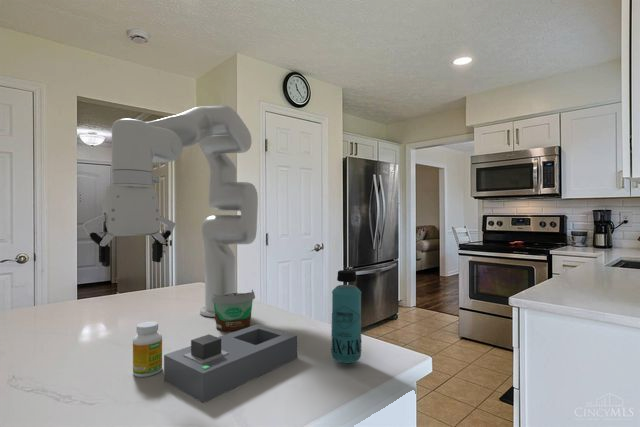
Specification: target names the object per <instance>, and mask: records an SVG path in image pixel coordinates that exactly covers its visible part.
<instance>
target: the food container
mask: <svg viewBox="0 0 640 427" xmlns="http://www.w3.org/2000/svg"><path fill="white" fill-rule="evenodd" d="M255 298H256V296H255V291H254V289H252V290H251V292H243V293H241V292H240V293H239V292H235V293H232V294H228V295H223V296H221V295H215V294H213V296H212V298H211V301H212V302H214V310H215V317H214V318H215V326H216V330H217V331H219V332H224V333H232V332H235V331H238V330H241V329H245V328H248V327H251V321H252V320H251V319H252V309H253V301H254V300H255Z"/></svg>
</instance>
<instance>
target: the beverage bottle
mask: <svg viewBox="0 0 640 427" xmlns="http://www.w3.org/2000/svg"><path fill="white" fill-rule="evenodd" d="M357 279H358V278H357V272H356V271H355V270H351V269H343V270H338V271H337V278H336V281H338V282H340V283H341V282H342V283H352V282H353V283H354V282H356V281H357ZM331 295H332V297H331V298H332V299H331V301H332V305H331V306H332V308H331V311H332V313H331V329H330V330H331V346H330V353H331V355H332V356H331V357H332V359H333V360H335V361H336V362H339V363H346V364H347V363H350V364H351V363H355V362H357V361H359V360H360V359H361V356H362V339H363V338H362V327H363V325H362V291H361V290H360V288H358V286H356V285H354V284H353V285H352V284H340V285H339V284H338V285H336V287H335V288H334V289H332V291H331Z"/></svg>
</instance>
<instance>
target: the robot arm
mask: <svg viewBox="0 0 640 427" xmlns="http://www.w3.org/2000/svg"><path fill="white" fill-rule="evenodd" d="M252 139H253V138H252V136H251V132H250V130H249V128H248V126H247V124H245V122H244V120H243V119H242V117H241V116H240V114H238V112H237V111H235V109H234V108H232V107H231V106H229V105H225V104H224V105H207V106H206V105H203V106H196V107H193V108H191V109H188V110H186V111H184V112H181V113H179V114H176V115H171V116H167V117H162V118H160V119H155V120H151V121H143V120H140V119H133V118H121V119H117V120H115V121H114V122H113V123H112V126H111V185H110V186H107V187H106V190H105V194H104V198H103V199H104V200H103V207H102V208H103V209H102V215H99V216H97V217H95V218H93V219H91V220H89V221H87V222H84V223H82V228H83V230H84V231H85V233H86V234H87V236H88V238H89V239H90V240H91V241H92V242H94V243H95V244H96V245H97V246H98V262H99V263H100V264H101V266H102V267H105V268H108V267H110V266H111V247H110V246H109V243H110V242H111V241H112V240H113V238H114V237H127V236H128V237H130V236H133V237H134V236H135V237H137V236H149V237H150V238H151V239H152V240H153V241H154V242H152V246H151V252H152V253H151V261H152V262H155V263H161V262H162V258H163V256H164V255H163V254H164V252H163V251H164V250H163V249H164V248H163V247H164V244H165V242H166V240H167V239H169V237H170V236H171V235H172V232H173V231H174V228H175V226H176V223H175V222H174V221H173V220H170V219H169V218H166V217H164V216H163V215H160V214H161V213H160V212H161V211H160V204H159V198H158V193H157V189H156V188H155V187H154V186H155V184H159V183H160V177H158V176H155V173H153V168H154V167H153V166H154V164H153V163H170V162H174V161H177V160H178V159H179V158H180V157H181V156H182V154H183V151H184V148H189V147H192V146H194V145H196V144H198V146H199V148H200V149H201V152H202V153H203V155H204V156H205V159H206V162H207V163H208V166H209V186H208V204H209V207H210V208H211V210H213V211H219V212H240V214H215V215H210V216H208V217H206V218H204V220H203V221H202V224H201V236H202V241H203V247H204V294H205V295H204V296H205V298H204V304H205V305H204V306H203V307H201V308H200V309H199V313H200V315H202V316H203V317H204V316H205V317H211V318H212V317H214V318H215V310H214V302H212V301H211V298H212V296H213V294H215V295H221V296H223V295H228V294H232V293H236V256H235V253H234V251H233V250H232V248H231V246H229V245H250V244H253V242H255V240H256V237H257V231H258V211H259V210H258V208H259V207H258V205H259V204H258V203H259V202H258V201H259V199H258V198H259V197H258V196H259V195H258V192H257V188H256V186H255V185H254V184H253V183H251V182H249V181H237V167H236V165H235V163H234V162H233V160H232V159H231V158H230V157H229V156H228V155H227V154H244V153H247V152H248V151H249V150H250V149H251V147H252V143H253V142H252ZM99 225H101V231H102V233H103V234H102V235H101V236H100V235H99V233H97V232H96V231H95V227H97V226H99ZM161 225H164V226H165V228H164V230H163V231H162V232H161V233H160V230H161Z"/></svg>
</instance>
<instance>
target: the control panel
mask: <svg viewBox="0 0 640 427" xmlns="http://www.w3.org/2000/svg"><path fill="white" fill-rule="evenodd" d="M297 358H298V334H295V333H291V332H287V331H285V330H279V329H277V328H273V327H270V326H265V325H263V324H260V323H259V324H258V323H257V324H255V325H250V327H248V328H245V329H241V330H238V331H235V332H228V333H227V334H224V335H221V336H215V335H212V334H206V335H203V336H200V337H197V338H193V339H190V346H187V347H184V348H181V349H178V350H175V351H171V352H168V353H165V354H163V366H164V367H163V381H164V382H166V383H167V384H169V385H171V386H172V387H175V388H176V389H178V390H180V391H181V392H184V393H185V394H187V395H188V396H190V397H192V398H195V399H196V400H197V401H199V402H202V403H203V404H204V403H205V402H208V401H210V400H212V399H214V398H216V397H218V396H220V395H222V394H224V393H227V392H228V391H231V390H233V389H235V388H237V387H239V386H241V385H244V384H245V382H246V383H247V381H248V382H249V380H250V381H252V380H254V379H256V378H259V377H261V376H262V375H264V374H266V373H268V372H270V371H273V370H274V369H277V368H278V367H281V366H283V365H285V364H287V363H289V362H291V361H293V360H295V359H297Z"/></svg>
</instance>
